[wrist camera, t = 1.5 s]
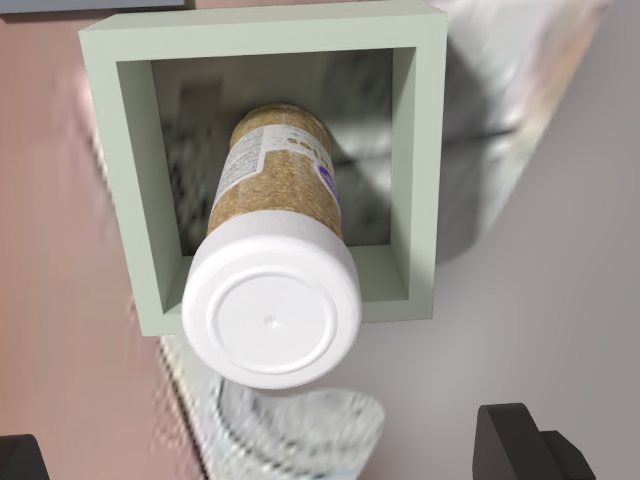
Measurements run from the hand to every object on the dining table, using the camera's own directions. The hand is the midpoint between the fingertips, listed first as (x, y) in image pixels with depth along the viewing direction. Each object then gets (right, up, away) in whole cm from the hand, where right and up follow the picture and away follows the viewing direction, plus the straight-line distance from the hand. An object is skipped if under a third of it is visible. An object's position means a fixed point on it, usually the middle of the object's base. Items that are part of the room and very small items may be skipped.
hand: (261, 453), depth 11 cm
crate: (-1, +8, +16) cm, 18 cm away
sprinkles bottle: (-1, +8, +16) cm, 18 cm away
